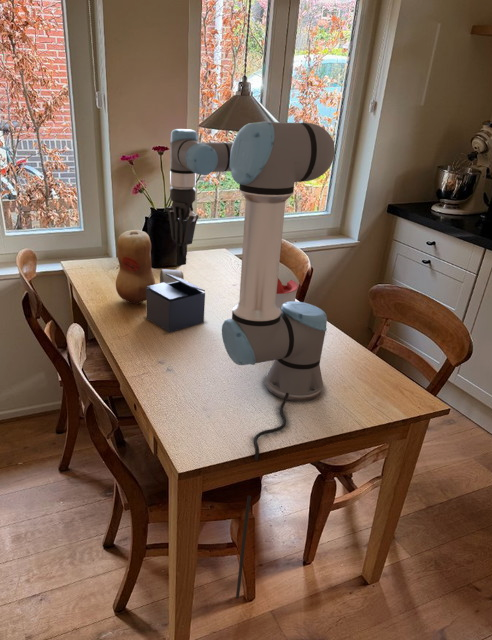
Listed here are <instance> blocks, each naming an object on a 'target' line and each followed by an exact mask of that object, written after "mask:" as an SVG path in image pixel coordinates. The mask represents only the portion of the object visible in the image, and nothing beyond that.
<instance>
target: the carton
mask: <svg viewBox="0 0 492 640" xmlns="http://www.w3.org/2000/svg"><path fill="white" fill-rule="evenodd" d="M145 302H146V305H145V306H146V320H148V321H149V322H152V323H153V324H155V325H156V326H158V327H160V328H161V329H163V330H164V331H166V332H168V333H170V334H171V333H173V332H176V331H180V330H183V329H186V328H190V327H194V326H196V325H197V326H198V325H200V324H204V323H205V306H206V305H205V303H206V292H205V291H201V290H198V289H194V288H191V287H188V286H187V285H185V284H183V283H181V282H179V281H177V282H173V283H169V284H166V283H164V282H163V283H160V282H159V283H155V284H154V285H150V286H147V289H146V300H145Z"/></svg>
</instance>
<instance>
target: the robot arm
mask: <svg viewBox="0 0 492 640" xmlns="http://www.w3.org/2000/svg"><path fill="white" fill-rule="evenodd" d="M334 142H335V141H334V140H333V137H332V136H331V134H330V132H329V131H327V129H325V128H324V127H322V126H321V125H319V124H316V123H312V122H282V121H281V122H279V121H278V122H277V121H258V122H250V123H247V124H245V125H243V126H242V127H241V128H240V129H239V131H238V132H237V133H236V135H235V137H234V139H233V142H220V141H219V142H218V141H217V142H216V141H215V142H213V141H211V142H210V141H209V142H208V141H206V142H204V141H203V142H202V141H199V138H198V132H197V131H196V130H194V129H188V128H175V129H173V130H172V131H171V132H170V142H169V145H170V171H169V185H170V187H169V199H170V201H171V206H168V207H166V212H167V214H168V219H169V220H168V221H169V228H170V236H171V240H172V241H174V243H175V253H176V259H175V263H176V265H177V266H184V265H187V255H188V245H189V246H190V245H192V244H193V241H194V240H193V239H194V235H195V231H196V225H197V222H198V220H199V214H196V213H195V212H194V205H193V203H194V202H195V201H196V195H197V194H196V192H197V191H196V190H197V189H196V188H195V187H196V186H197V185H196V184H197V175H200V176H206V175H207V176H208V175H210V174H211V173H221V172H222V173H224V172H230V175H231V177H232V179H233V181H234V183H237V184H238V185H239V190H238V191H239V192H240V194H241V195H242V196H243V197H244V199H245V203H244V205H245V206H244V218H243V219H244V221H243V235H242V237H243V239H242V252H241V266H240V267H241V268H240V272H241V273H240V283H239V300H238V303H237V304H235V305H234V306H233V307H232V310H231V311H232V312H231V318H227V319H226V320H224V321H223V323H222V325H221V337H222V342H223V345H224V348H225V351H226V353H227V356H228V357H229V358H230V360H231V361H232V362H233V363H234V364H235V365H238V366H249V365H252V366H253V365H256V364H261V363H265V362H271V361H272V364H271V366H270V368H269V369H268V372H267V374H266V376H265V387H266V389H267V391H269V393H271V394H273V395H274V396H276V397H278V398H280V399H282V402H281V404H280V406H279V414H280V417H281V419H282V424H281V425H280V426H278V427H274V428H270V429H265V430H262V431H260V432H258V433H257V434H256V435H254V437H253V439H252V440H253V441H252V442H253V446H254V461H256V462H257V461H259V457H260V448H259V444H258V439H259V438H260V437H262V436H263V435H266V434H272V433H277V432H279V431H281V430H283V429H284V428H285V427H286V425H287V418H286V415H285V413H284V407H285V404H286V403H287V401H290V402H291V401H292V402H309V401H312V400H315V399H317V398H318V397H320V396H321V395H322V393H323V388H324V381H323V380H324V379H323V375H322V370H321V359H322V353H323V346H324V343H325V342H324V341H325V337H326V332H327V323H328V316H327V314H326V312H325V311H324V310H323V309H321V308H320V307H318V306H316V305H314V304H310V303H307V302H303V301H296V300H295V301H290V302H286V303H284V304H283V305H282V307H281V310H282V311H280V309H279V308H278V307H277V306H276V305H275V304H276V293H277V283H278V278H279V271H280V263H281V261H280V260H281V251H282V240H283V230H284V221H285V220H284V219H285V210H286V202H287V200H288V199H290V198H291V196H293V195H294V192H295V183H302V182H303V183H305V182H309V181H314V180H316V179H318V178H320V177H322V176H323V175H324V174H325V173H326V172H328V170H329V169H330V168H331V166H332V164H333V162H334V158H335V152H336V149H335V143H334ZM251 500H252V495H247V497H246V505H245V513H244V520H243V530H242V539H241V546H240V547H241V548H240V556H239V565H238V576H237V583H236V584H237V586H236V593H235V599H236V600H238V599H239V598H240V592H241V585H242V584H241V583H242V576H243V567H244V566H243V565H244V557H245V549H246V540H247V532H248V531H247V530H248V524H249V515H250V507H251Z"/></svg>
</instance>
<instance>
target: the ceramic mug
mask: <svg viewBox="0 0 492 640" xmlns="http://www.w3.org/2000/svg"><path fill="white" fill-rule="evenodd" d="M159 271H160V272H159V283H163V282H164V283H166V284H169V283H173V282H177V280H175V279H173V278H171V277H169V276H167V275H166V274H169V275H172V276H175V277H179V278H182V279H184V280H185V278H184V272H183V271H182V270H179V269H167V268H165V269H164V268H161V269H160V270H159Z"/></svg>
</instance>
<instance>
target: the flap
mask: <svg viewBox="0 0 492 640" xmlns="http://www.w3.org/2000/svg"><path fill="white" fill-rule="evenodd" d="M166 275H167V276H169V277H171V278H173V279H175V280H177V281H179V282H181V283H183V284H185V285H187V286H188V287H191V288H194V289H198V290H201V291H202V292H206V290H205V289H204V288H201V287H199V286H198V285H196V284H193V283H191V282H190V281H187V280H186V279H185V278H184V279H182V278H179V277H175V276H172V275H169V274H166Z"/></svg>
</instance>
